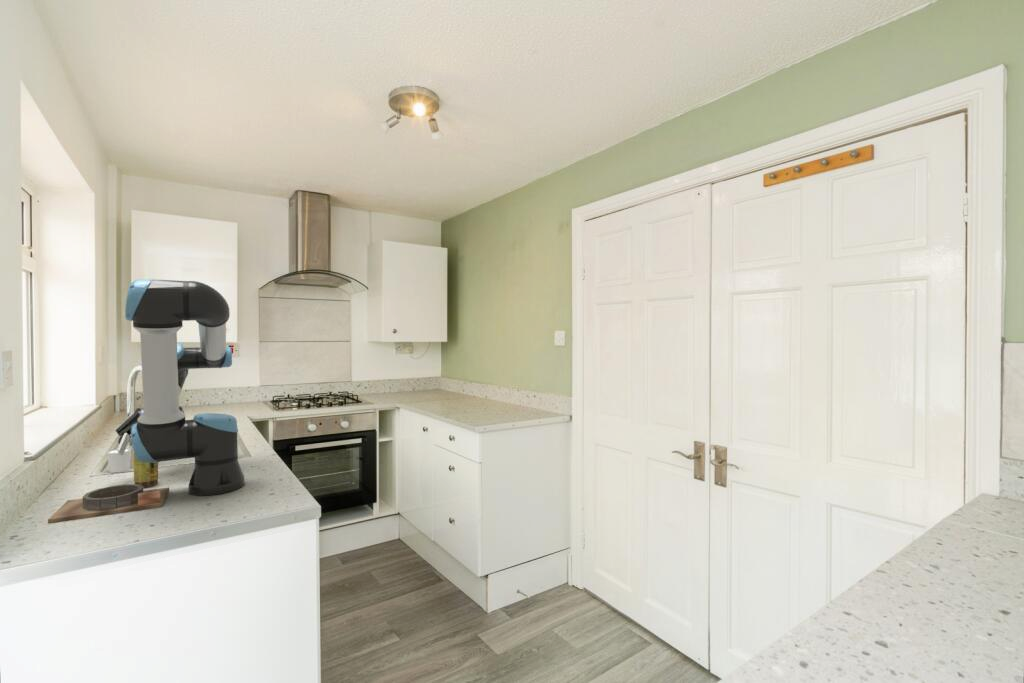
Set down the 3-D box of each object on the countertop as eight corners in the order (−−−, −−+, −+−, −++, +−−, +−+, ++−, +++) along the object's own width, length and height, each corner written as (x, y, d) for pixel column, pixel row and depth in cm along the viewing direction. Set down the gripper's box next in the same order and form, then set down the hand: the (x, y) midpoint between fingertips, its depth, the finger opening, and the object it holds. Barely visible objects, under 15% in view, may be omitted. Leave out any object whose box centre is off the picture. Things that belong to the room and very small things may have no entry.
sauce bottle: (155, 487, 155) (153, 424, 154) (131, 489, 153) (129, 426, 152) (161, 481, 161) (160, 421, 161) (138, 483, 159) (136, 422, 158)
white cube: (101, 472, 171) (101, 452, 171) (121, 467, 178) (121, 448, 178) (117, 474, 169) (116, 453, 169) (136, 468, 176) (136, 449, 176)
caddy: (169, 490, 152) (169, 477, 152) (161, 507, 138) (161, 492, 138) (67, 503, 140) (67, 490, 140) (48, 523, 126) (47, 507, 126)
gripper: (208, 403, 176) (192, 455, 162) (128, 405, 170) (104, 460, 156) (202, 390, 171) (185, 442, 157) (119, 392, 165) (93, 447, 151)
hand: (144, 451), depth 156 cm, fingers open, 13 cm apart
